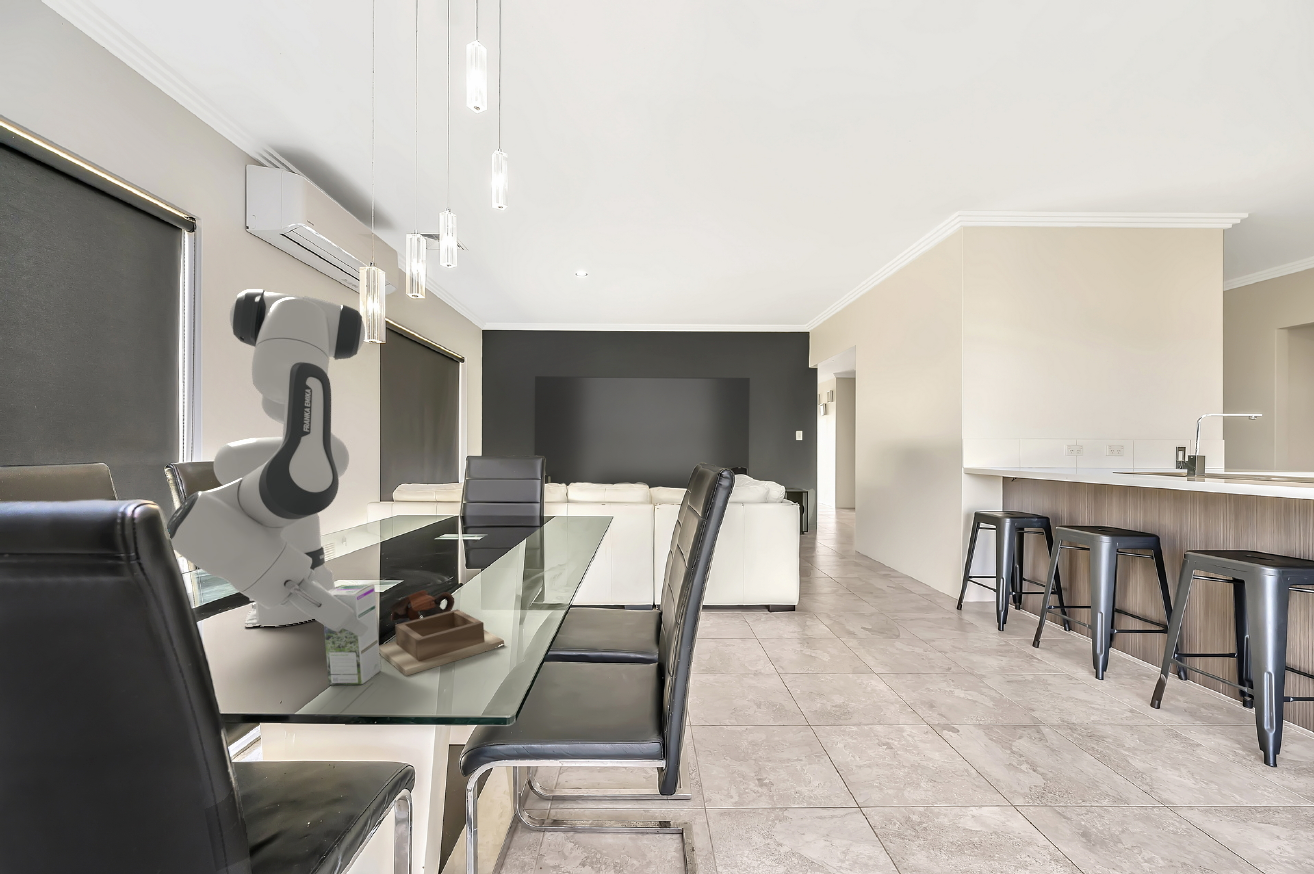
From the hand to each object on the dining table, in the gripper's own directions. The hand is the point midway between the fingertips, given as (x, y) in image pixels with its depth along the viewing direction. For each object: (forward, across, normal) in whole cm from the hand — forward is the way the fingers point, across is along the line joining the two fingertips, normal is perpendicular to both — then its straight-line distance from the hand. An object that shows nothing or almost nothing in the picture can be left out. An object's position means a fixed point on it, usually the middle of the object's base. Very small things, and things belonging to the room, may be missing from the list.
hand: (355, 624), depth 98 cm
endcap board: (+16, +2, -4) cm, 16 cm away
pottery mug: (+18, +17, -5) cm, 25 cm away
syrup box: (+6, 0, +6) cm, 9 cm away
